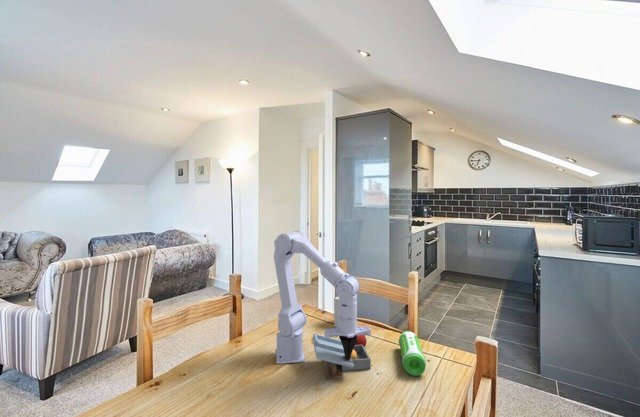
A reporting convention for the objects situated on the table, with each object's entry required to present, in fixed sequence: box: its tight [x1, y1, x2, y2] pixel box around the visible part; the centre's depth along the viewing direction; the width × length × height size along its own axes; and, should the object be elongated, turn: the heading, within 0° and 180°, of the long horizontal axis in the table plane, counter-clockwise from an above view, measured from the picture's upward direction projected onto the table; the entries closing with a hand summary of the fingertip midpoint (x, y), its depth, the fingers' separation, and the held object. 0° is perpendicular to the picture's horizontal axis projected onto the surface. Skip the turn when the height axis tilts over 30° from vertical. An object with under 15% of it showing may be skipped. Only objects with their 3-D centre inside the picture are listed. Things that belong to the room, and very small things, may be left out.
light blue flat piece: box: [311, 333, 354, 368], centre depth 97 cm, size 12×13×2 cm
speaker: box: [398, 330, 427, 377], centre depth 102 cm, size 18×7×8 cm, turn 170°
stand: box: [321, 360, 344, 380], centre depth 98 cm, size 5×10×5 cm, turn 8°
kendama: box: [355, 335, 367, 348], centre depth 117 cm, size 8×6×18 cm
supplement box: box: [333, 296, 339, 328], centre depth 130 cm, size 7×7×13 cm
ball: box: [351, 350, 357, 359], centre depth 101 cm, size 4×4×4 cm
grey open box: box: [339, 345, 372, 373], centre depth 102 cm, size 10×10×4 cm
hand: (347, 358), depth 95 cm, fingers closed
